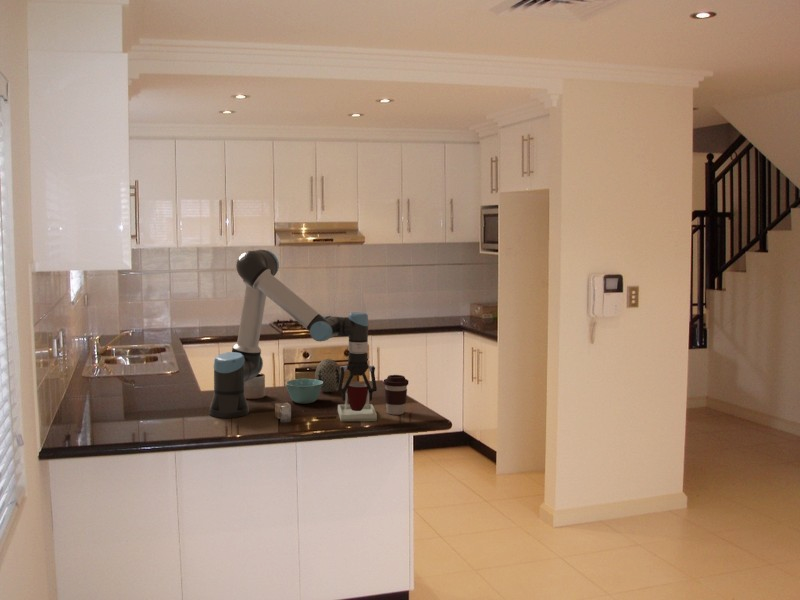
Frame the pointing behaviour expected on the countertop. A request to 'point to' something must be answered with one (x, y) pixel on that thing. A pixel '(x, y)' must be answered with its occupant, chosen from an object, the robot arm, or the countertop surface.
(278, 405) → the white marbled cube
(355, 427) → the countertop surface
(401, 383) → the coffee cup
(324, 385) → the decorative egg
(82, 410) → the countertop surface
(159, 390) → the countertop surface
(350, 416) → the tray
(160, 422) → the countertop surface
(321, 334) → the robot arm
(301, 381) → the bowl
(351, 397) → the mug
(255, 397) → the planter
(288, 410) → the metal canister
